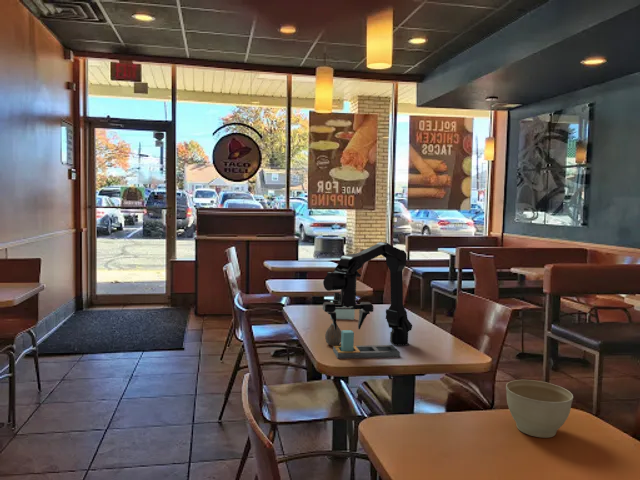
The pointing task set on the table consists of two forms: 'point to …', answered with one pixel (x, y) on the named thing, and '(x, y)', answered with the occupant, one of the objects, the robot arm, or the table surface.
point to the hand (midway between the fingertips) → (347, 329)
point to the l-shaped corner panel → (344, 313)
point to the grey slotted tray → (367, 352)
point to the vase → (333, 335)
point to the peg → (347, 340)
